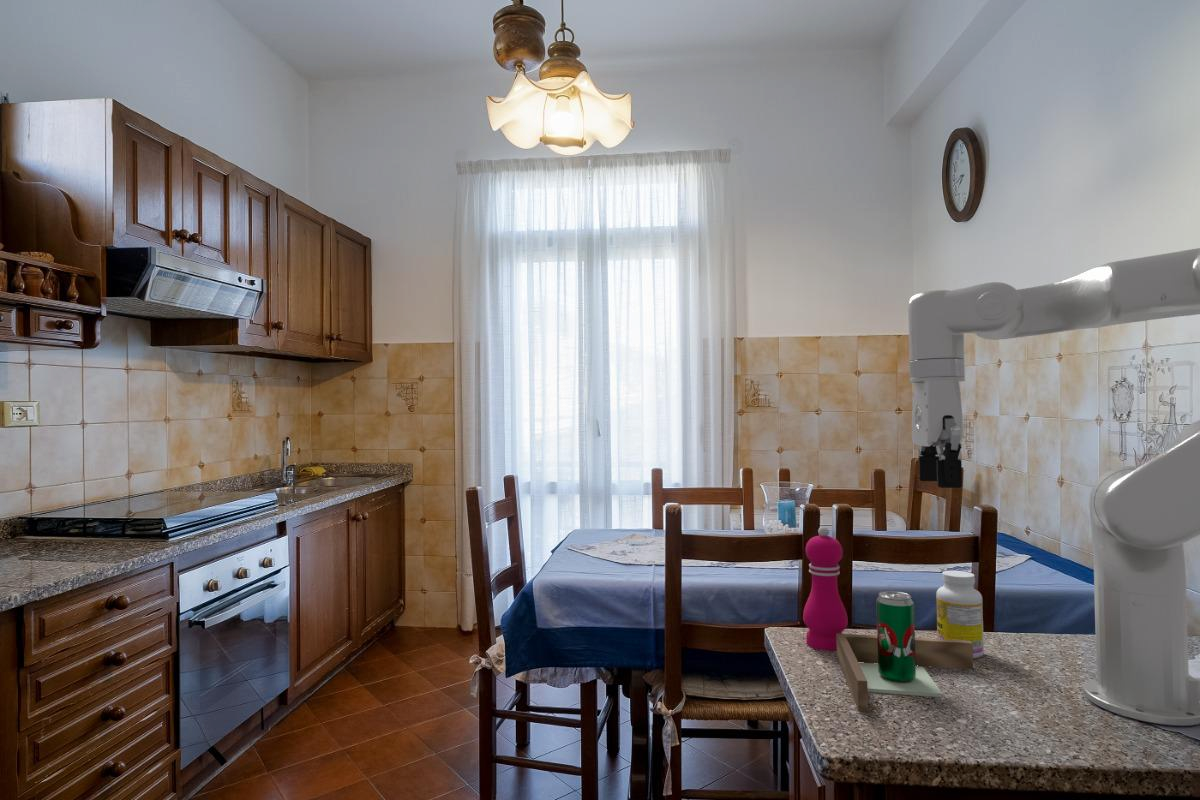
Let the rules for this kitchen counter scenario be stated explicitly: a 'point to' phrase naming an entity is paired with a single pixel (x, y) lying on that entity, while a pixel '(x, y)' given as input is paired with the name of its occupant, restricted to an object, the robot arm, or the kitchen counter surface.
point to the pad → (917, 686)
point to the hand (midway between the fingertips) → (939, 484)
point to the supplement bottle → (960, 610)
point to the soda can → (896, 636)
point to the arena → (866, 651)
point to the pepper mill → (824, 593)
